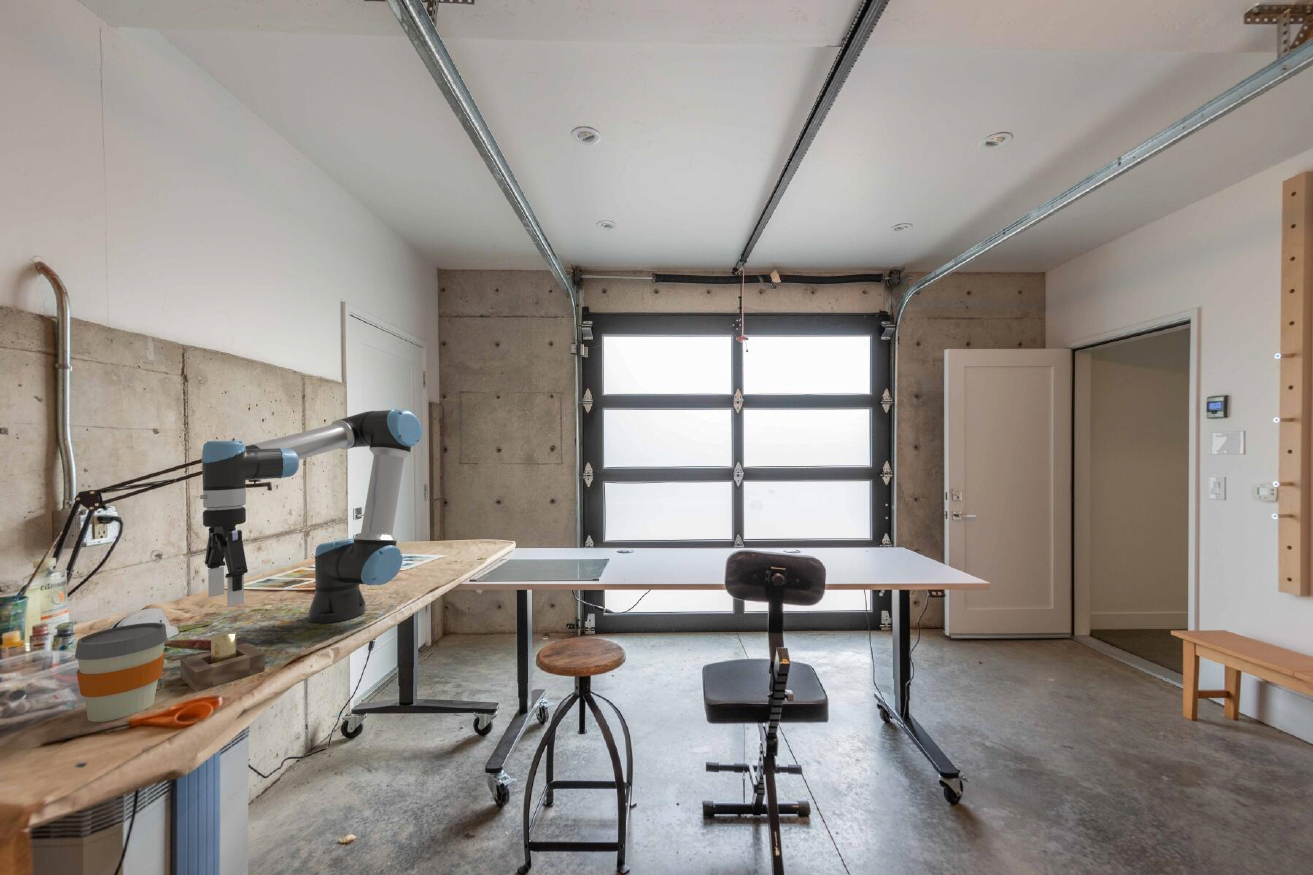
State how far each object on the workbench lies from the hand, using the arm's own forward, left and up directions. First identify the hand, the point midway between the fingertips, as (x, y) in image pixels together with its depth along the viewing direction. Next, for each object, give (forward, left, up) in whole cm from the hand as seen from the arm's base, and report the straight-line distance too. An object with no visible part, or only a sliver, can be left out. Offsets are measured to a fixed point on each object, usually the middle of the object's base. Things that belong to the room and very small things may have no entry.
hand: (225, 600), depth 116 cm
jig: (0, 0, -17) cm, 17 cm away
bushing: (0, 0, -17) cm, 17 cm away
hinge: (+7, -42, -17) cm, 46 cm away
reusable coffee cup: (+17, +4, -17) cm, 24 cm away
